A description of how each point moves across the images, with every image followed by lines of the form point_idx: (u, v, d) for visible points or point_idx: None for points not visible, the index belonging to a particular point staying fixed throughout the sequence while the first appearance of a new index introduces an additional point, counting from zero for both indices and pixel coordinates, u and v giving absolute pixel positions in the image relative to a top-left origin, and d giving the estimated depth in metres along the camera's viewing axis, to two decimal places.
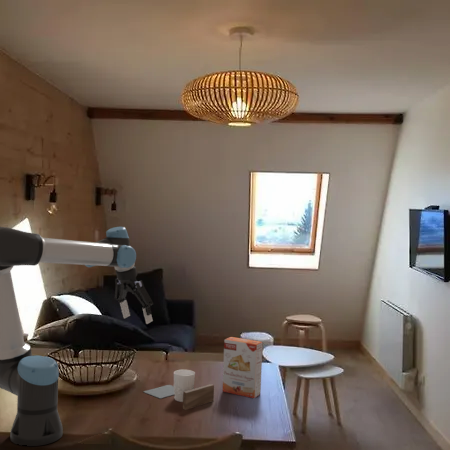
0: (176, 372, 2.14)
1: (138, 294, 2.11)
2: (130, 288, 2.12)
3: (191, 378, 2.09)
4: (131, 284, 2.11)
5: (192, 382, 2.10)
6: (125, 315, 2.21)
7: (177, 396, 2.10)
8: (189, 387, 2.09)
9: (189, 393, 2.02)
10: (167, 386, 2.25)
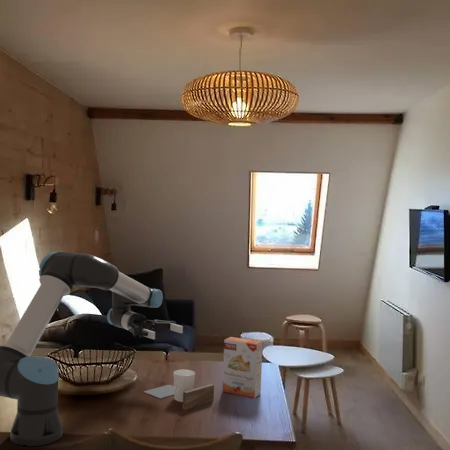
0: (176, 372, 2.14)
1: None
2: None
3: (191, 378, 2.09)
4: None
5: (192, 382, 2.10)
6: None
7: (177, 396, 2.10)
8: (189, 387, 2.09)
9: (189, 393, 2.02)
10: (167, 386, 2.25)
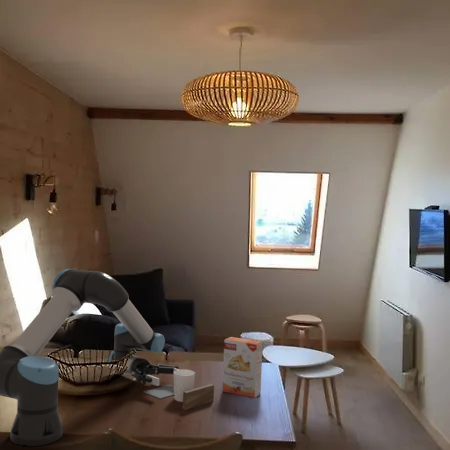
0: (176, 372, 2.14)
1: None
2: (153, 365, 2.28)
3: (191, 378, 2.09)
4: None
5: (192, 382, 2.10)
6: None
7: (177, 396, 2.10)
8: (189, 387, 2.09)
9: (189, 393, 2.02)
10: (167, 386, 2.25)
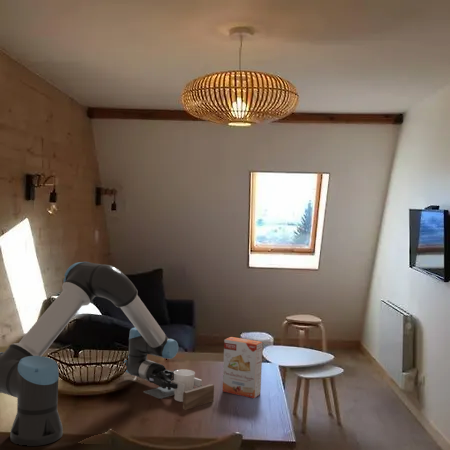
0: (176, 372, 2.14)
1: None
2: (170, 371, 2.21)
3: (191, 378, 2.09)
4: None
5: (192, 382, 2.10)
6: None
7: (177, 396, 2.10)
8: (189, 387, 2.09)
9: (189, 393, 2.02)
10: None
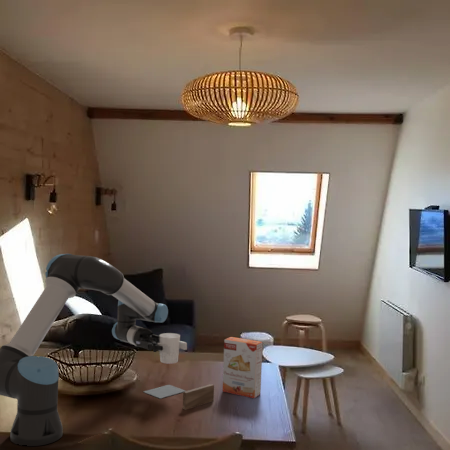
0: (162, 335, 2.20)
1: None
2: (156, 335, 2.26)
3: (176, 340, 2.15)
4: None
5: (177, 345, 2.15)
6: None
7: (162, 358, 2.15)
8: (174, 349, 2.15)
9: (189, 393, 2.02)
10: (167, 386, 2.25)
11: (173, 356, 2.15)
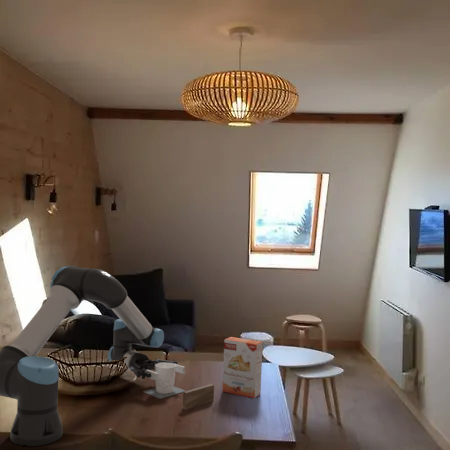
0: (158, 365, 2.21)
1: None
2: (152, 360, 2.28)
3: (172, 370, 2.17)
4: None
5: (173, 375, 2.17)
6: None
7: (158, 388, 2.17)
8: (170, 379, 2.16)
9: (189, 393, 2.02)
10: None
11: (168, 386, 2.16)
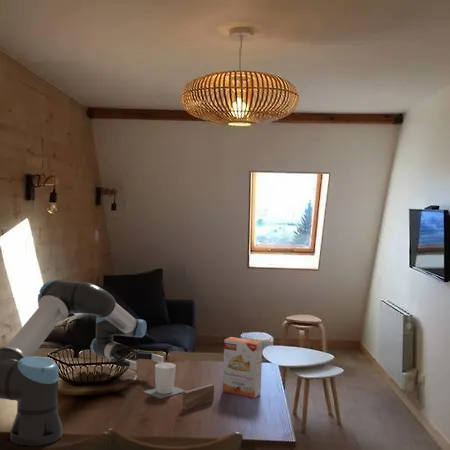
0: (158, 365, 2.21)
1: None
2: None
3: (172, 371, 2.17)
4: None
5: (172, 375, 2.17)
6: None
7: (158, 388, 2.17)
8: (170, 379, 2.16)
9: (189, 393, 2.02)
10: None
11: (168, 387, 2.16)
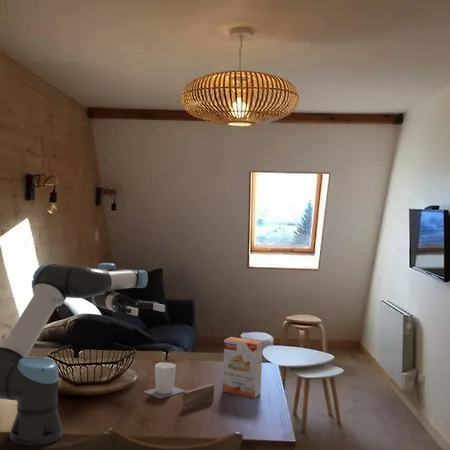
0: (158, 365, 2.21)
1: None
2: None
3: (172, 371, 2.17)
4: None
5: (172, 375, 2.17)
6: None
7: (158, 388, 2.17)
8: (170, 379, 2.16)
9: (189, 393, 2.02)
10: None
11: (168, 387, 2.16)
